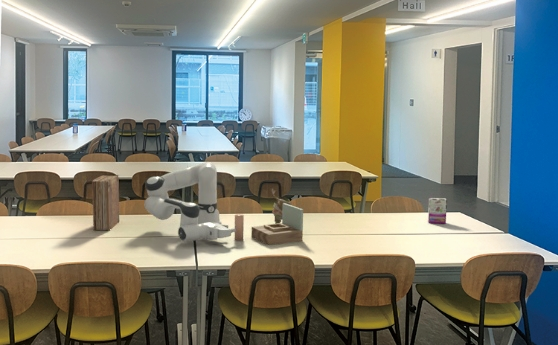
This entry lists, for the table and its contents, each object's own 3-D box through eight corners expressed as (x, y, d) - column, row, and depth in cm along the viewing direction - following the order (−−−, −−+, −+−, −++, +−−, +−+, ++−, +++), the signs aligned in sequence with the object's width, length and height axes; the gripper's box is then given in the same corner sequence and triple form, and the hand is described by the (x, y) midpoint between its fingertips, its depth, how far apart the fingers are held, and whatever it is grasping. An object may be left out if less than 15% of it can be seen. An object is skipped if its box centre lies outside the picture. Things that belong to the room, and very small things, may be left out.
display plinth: (251, 237, 316) (251, 206, 314) (284, 232, 327) (284, 203, 325) (268, 245, 299) (269, 212, 297) (302, 240, 310) (303, 209, 308)
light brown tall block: (233, 239, 311) (233, 214, 309) (240, 238, 313) (241, 214, 311) (236, 241, 307) (237, 216, 305) (244, 240, 309) (245, 215, 307)
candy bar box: (444, 222, 364) (446, 198, 362) (445, 224, 359) (447, 199, 357) (427, 221, 366) (428, 197, 364) (428, 223, 361) (429, 198, 359)
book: (109, 231, 323) (108, 180, 319) (93, 231, 322) (91, 180, 318) (119, 221, 348) (118, 174, 344) (104, 221, 347) (103, 174, 343)
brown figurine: (295, 227, 338) (289, 187, 334) (278, 232, 331) (272, 191, 327) (285, 225, 347) (279, 186, 343) (268, 230, 340) (262, 190, 337)
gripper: (201, 232, 308) (223, 229, 315) (216, 240, 291) (239, 237, 298) (201, 221, 307) (223, 218, 315) (216, 229, 290) (239, 226, 297)
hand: (231, 228), depth 306 cm, fingers open, 8 cm apart
